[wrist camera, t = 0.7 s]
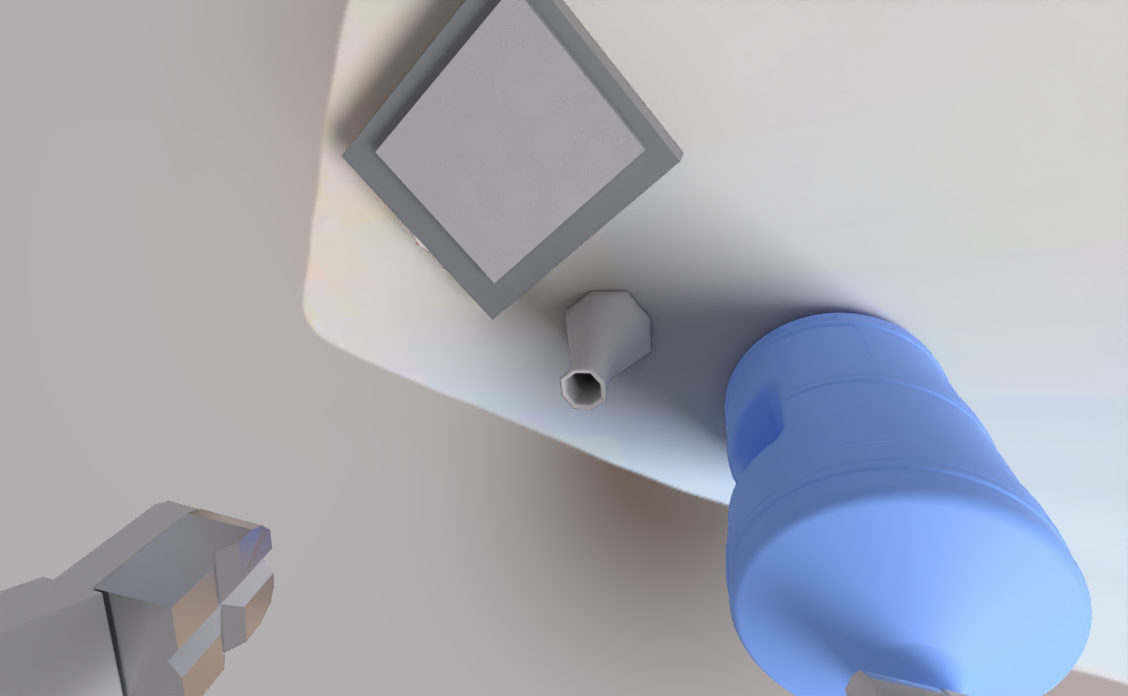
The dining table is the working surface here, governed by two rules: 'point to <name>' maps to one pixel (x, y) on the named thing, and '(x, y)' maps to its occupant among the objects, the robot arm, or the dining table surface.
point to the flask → (602, 344)
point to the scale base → (573, 230)
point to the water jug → (885, 524)
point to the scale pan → (509, 139)
